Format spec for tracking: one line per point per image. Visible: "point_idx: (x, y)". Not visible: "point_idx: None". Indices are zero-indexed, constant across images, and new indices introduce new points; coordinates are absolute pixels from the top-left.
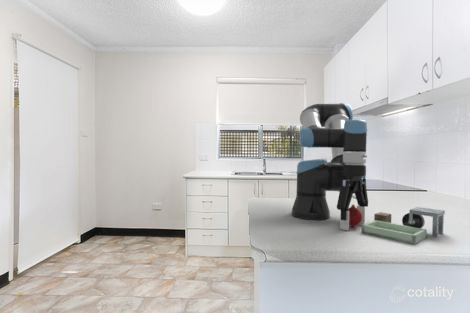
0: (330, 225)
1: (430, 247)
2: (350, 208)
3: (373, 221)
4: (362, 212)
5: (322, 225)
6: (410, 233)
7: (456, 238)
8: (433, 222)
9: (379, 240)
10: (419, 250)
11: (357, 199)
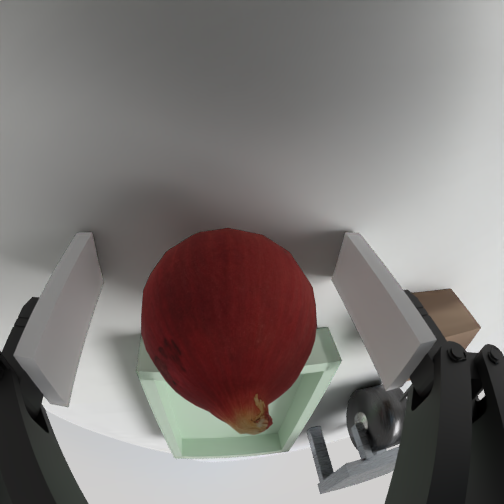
0: (122, 103)
1: None
2: (191, 390)
3: None
4: (371, 341)
5: (66, 65)
6: (278, 420)
7: (326, 439)
8: (318, 466)
9: (106, 393)
10: (130, 440)
11: (433, 425)
